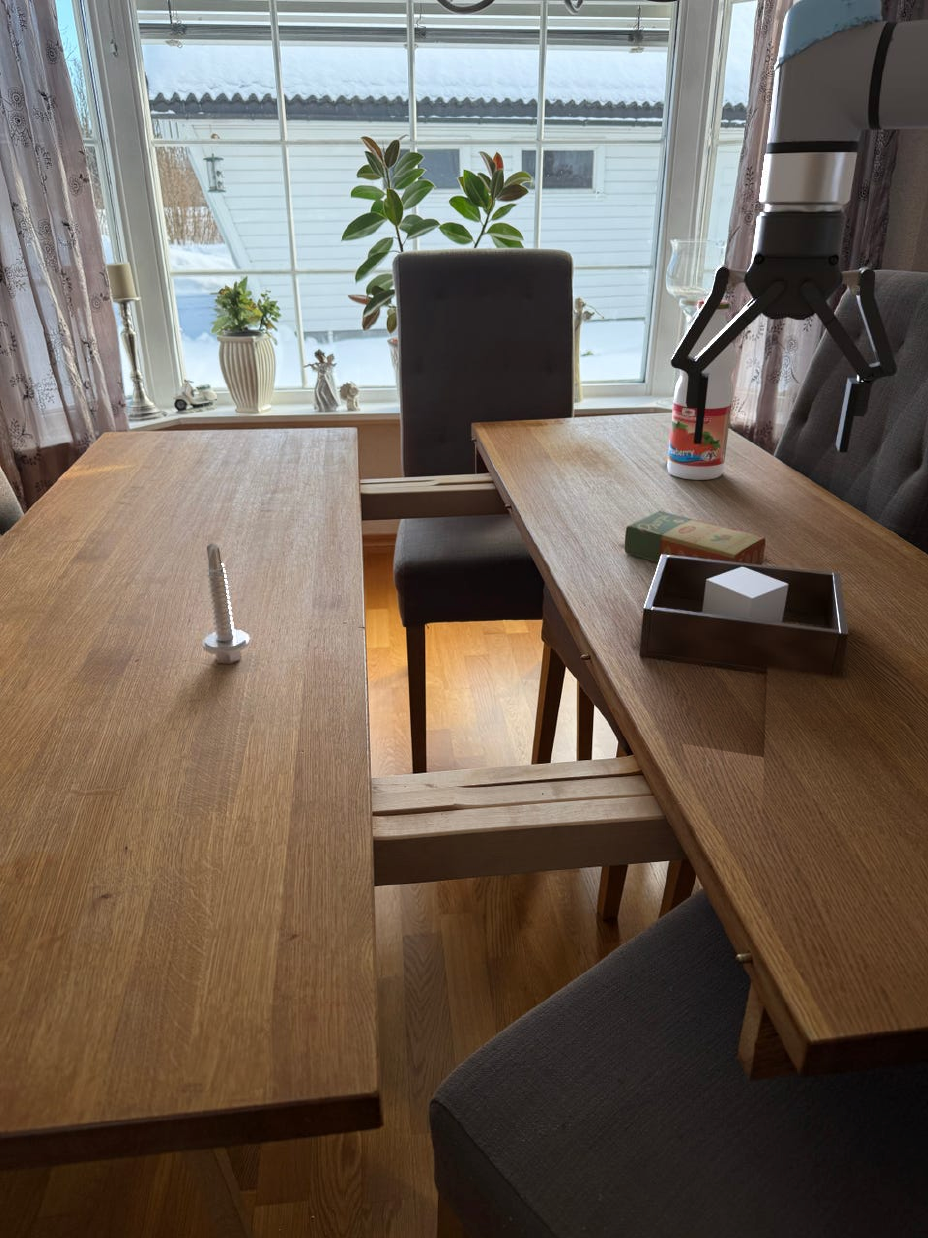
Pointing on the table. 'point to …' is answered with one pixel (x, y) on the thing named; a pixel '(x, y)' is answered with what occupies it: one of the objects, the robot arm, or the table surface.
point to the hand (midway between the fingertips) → (768, 444)
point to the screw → (222, 615)
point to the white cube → (745, 595)
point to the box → (744, 621)
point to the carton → (691, 540)
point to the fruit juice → (711, 452)
